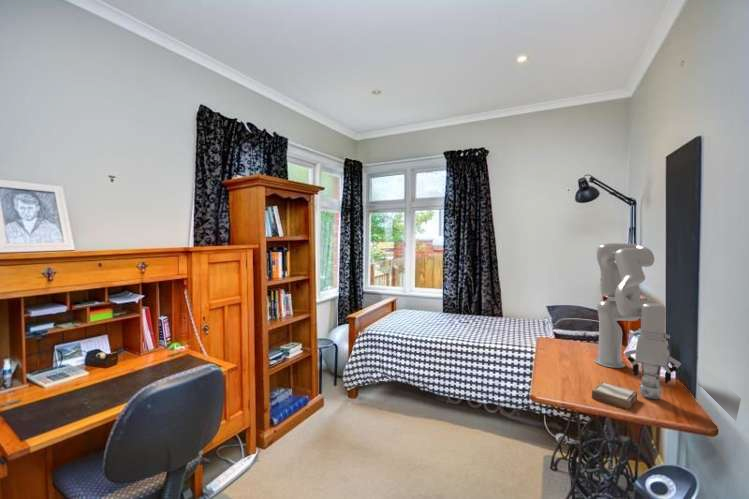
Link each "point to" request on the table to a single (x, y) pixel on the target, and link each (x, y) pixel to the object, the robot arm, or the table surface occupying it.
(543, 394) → the table surface
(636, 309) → the robot arm
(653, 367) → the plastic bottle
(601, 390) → the plinth
